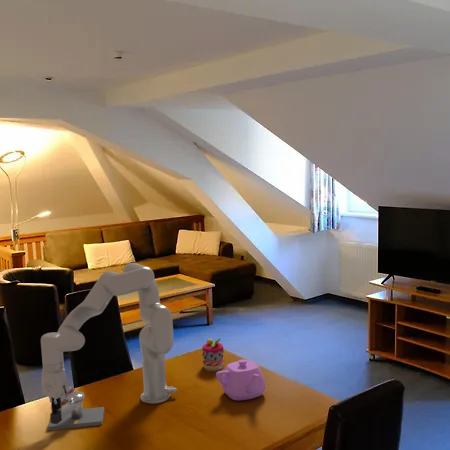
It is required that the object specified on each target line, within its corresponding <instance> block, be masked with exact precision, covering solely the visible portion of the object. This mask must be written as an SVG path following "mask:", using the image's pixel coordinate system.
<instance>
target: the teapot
mask: <svg viewBox="0 0 450 450" xmlns="http://www.w3.org/2000/svg"><path fill="white" fill-rule="evenodd" d="M262 372H263V371H262V370H261V368H260V366H259V365H258V364H257V363H255V362H254V361H253V360H249V359H245V358H244V359H238V361H233V362H230V363H228V364H227V365H226V367H225V368H224V370H218V371H217V372H216V373H215V378H216V379H217V381H218V382H219V384H220V385H221V387H222V389H223V391H224V393H225V395H226V396H227V397H229V398H230V399H231V400H233V401H247V400H253V399H256V398H258V397H260V396H263V394H264V392H265V391H266V383H265V382H266V381H265V378H264V375H263V373H262Z"/></svg>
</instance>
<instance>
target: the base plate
mask: <svg viewBox="0 0 450 450" xmlns="http://www.w3.org/2000/svg"><path fill="white" fill-rule="evenodd" d="M82 409H83V416H82V417H80V418H76V419H74V418H72V417H71V412H70V413H69V414H68V415H66V416H65V417H64V418H62V421H60V422H59V423H58V424H52V423H51V420H49V424H48V426H47V429H48V431H56V430H65V429H67V430H68V429H75V428H85V427H95V426H103V421H104V414H105V406H99V407H89V408H82Z"/></svg>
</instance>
